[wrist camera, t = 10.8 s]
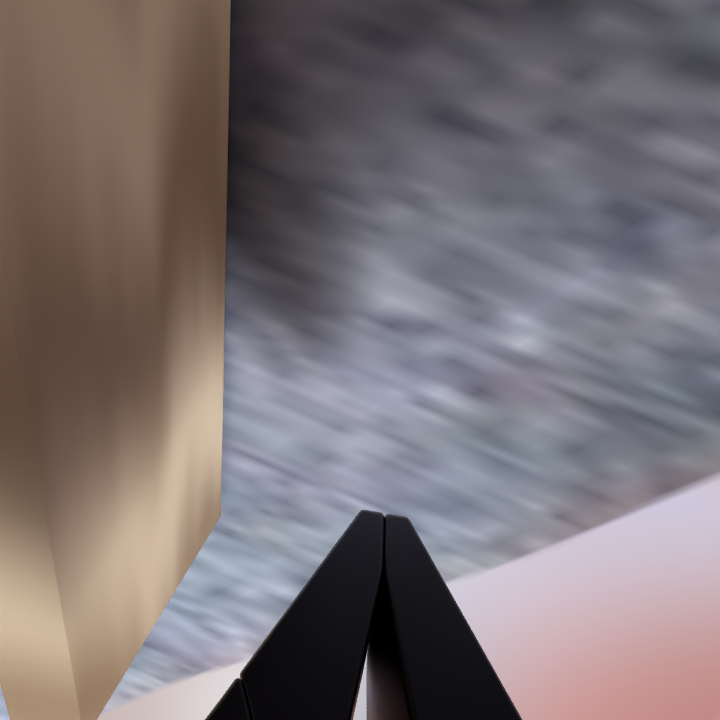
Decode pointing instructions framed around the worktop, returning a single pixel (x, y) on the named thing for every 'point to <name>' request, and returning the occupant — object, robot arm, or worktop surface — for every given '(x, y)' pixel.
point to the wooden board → (106, 331)
